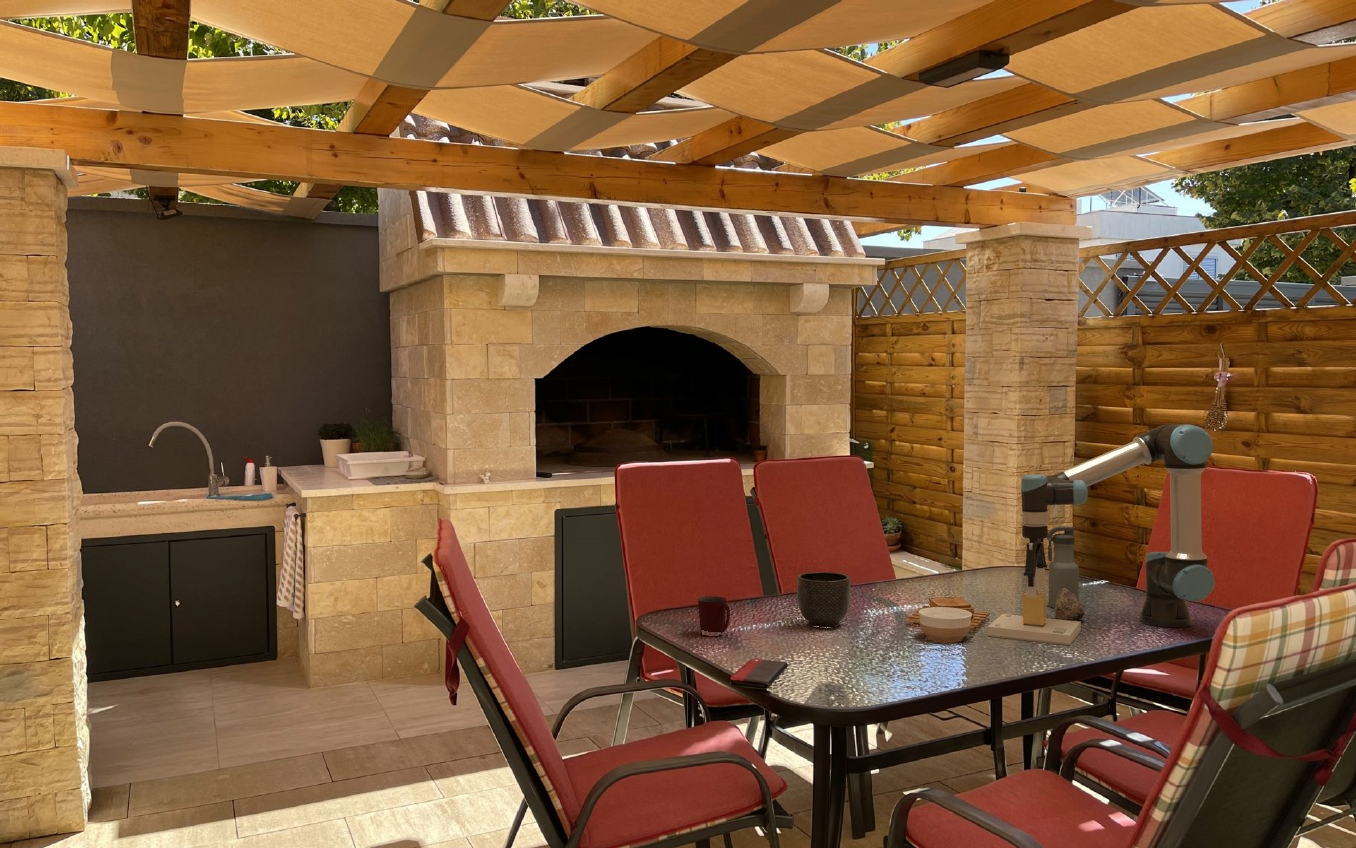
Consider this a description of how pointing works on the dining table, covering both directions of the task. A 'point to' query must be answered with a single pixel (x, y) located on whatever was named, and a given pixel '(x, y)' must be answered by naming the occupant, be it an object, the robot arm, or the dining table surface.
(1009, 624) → the socket plate
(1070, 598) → the rock
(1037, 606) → the plug
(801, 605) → the planter
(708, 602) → the mug
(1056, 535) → the water bottle
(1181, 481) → the robot arm
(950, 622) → the bowl
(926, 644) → the dining table surface
